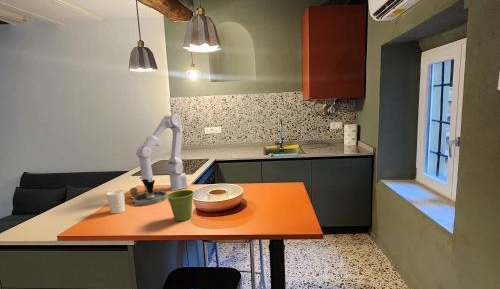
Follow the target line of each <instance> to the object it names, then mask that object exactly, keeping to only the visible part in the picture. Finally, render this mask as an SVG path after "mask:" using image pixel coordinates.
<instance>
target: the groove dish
mask: <svg viewBox="0 0 500 289" xmlns="http://www.w3.org/2000/svg"><path fill="white" fill-rule="evenodd" d="M167 194H168V192H167V191H165V190H154V195H153V194H152V195H148V196H146V193H145V192H142V193H139V195H137V196H135V197H134V198H132V201H133V204H134V205H135V204H136V205H135V206H139V205H144V206H150V205H155V204H158V203H161V202H163V201H166V200H167V199H168V198H167V197H166V195H167Z"/></svg>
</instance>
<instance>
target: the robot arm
mask: <svg viewBox="0 0 500 289" xmlns="http://www.w3.org/2000/svg"><path fill="white" fill-rule="evenodd" d="M166 129H170V130H171V131H172V141H171V142H172V143H171V152H170V158H169V159H168V160H167V164H166V167H165V170H166V172H168V175H169V181H170V186H169V188H170V190H171V191H172V192H174V191H179V190H185V189H187V188H188V182H187V176H186V172H184V165H183V160H182V159H181V152H182V141H183V131H184V129H183V125H182V119H181V117H180V115H177V114H172V115H168V114H167V115H165V116H163V118H162V119H161V120H160V123H159V124H158V126H157V127H156V129H155V131H153V134H151V135H148V136H146V138H145V139H146V140H145V141H144V142H143V143H141V145H140V147H137V149H136V153H135V154H136V156H137V157H138V162H139V166H140V167H139V168H140V173H141V176H140V177H139V179H140V181H141V182H142V184H143V186H144V187H145V186H146V187H147V190H148V193H153V190H154V185H155V182H156V180H155V179H153V178H154V175H153V169H152V162H151V157H150V156H151V155H152V151H153V149H154V147H156V145H157V143H158V142H159V140H158V139H159V138H160V136H161V135H162V134H163V132H165V131H166Z"/></svg>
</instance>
